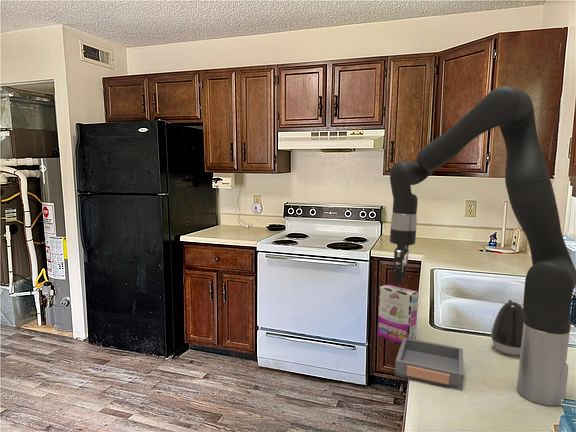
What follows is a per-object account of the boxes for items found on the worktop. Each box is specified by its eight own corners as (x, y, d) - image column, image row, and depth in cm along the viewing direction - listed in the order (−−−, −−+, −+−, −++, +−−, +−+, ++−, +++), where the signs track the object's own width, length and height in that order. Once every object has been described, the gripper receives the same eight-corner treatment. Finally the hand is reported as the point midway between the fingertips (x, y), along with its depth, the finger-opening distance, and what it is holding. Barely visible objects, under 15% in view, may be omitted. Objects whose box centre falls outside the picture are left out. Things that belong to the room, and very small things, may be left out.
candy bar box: (416, 343, 124) (419, 291, 122) (408, 347, 120) (411, 294, 118) (384, 331, 132) (387, 283, 130) (376, 336, 128) (379, 286, 126)
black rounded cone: (524, 347, 123) (529, 299, 121) (532, 362, 113) (537, 310, 112) (487, 341, 127) (492, 294, 125) (492, 355, 117) (497, 305, 115)
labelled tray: (461, 362, 112) (462, 348, 112) (461, 391, 97) (463, 375, 97) (402, 350, 118) (403, 337, 118) (394, 376, 103) (395, 361, 103)
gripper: (413, 232, 114) (409, 287, 116) (418, 226, 127) (414, 276, 129) (386, 229, 117) (383, 283, 119) (394, 224, 130) (390, 272, 132)
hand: (399, 279), depth 124 cm, fingers open, 8 cm apart
